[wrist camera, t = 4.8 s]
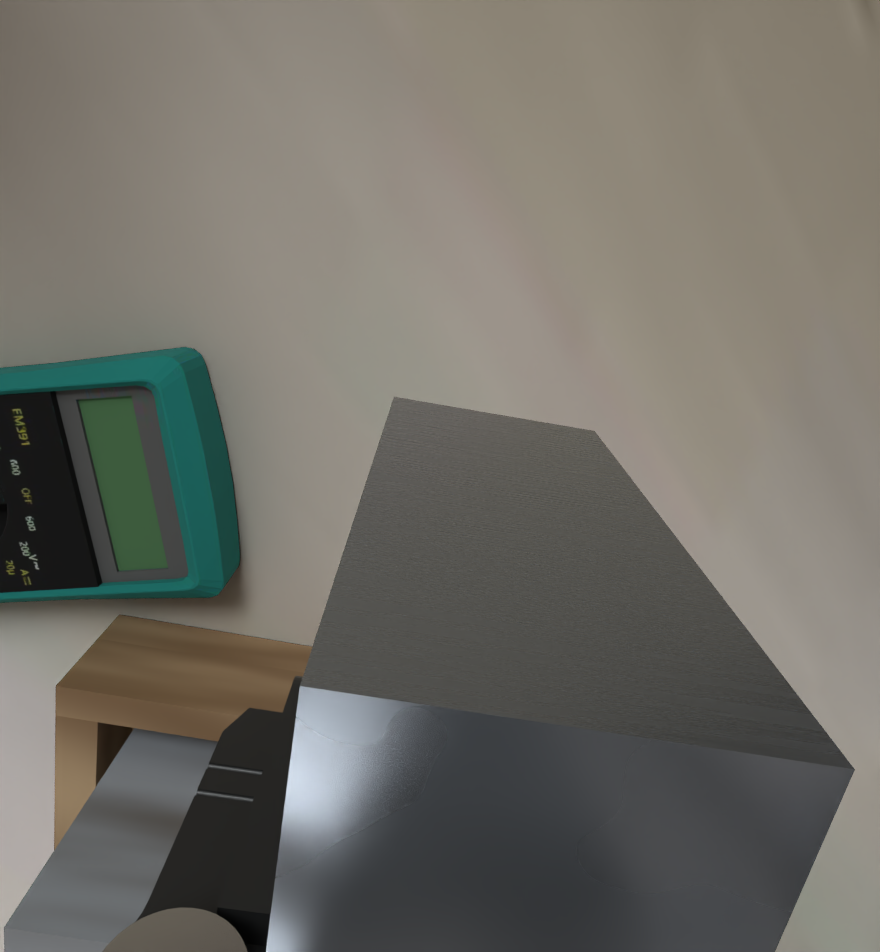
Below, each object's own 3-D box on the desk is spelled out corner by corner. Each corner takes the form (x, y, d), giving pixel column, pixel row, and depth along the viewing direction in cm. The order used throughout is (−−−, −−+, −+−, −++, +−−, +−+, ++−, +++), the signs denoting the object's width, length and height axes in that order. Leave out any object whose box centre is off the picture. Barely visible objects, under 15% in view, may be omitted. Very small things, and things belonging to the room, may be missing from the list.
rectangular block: (394, 396, 12) (300, 685, 4) (594, 431, 12) (855, 769, 4) (323, 859, 15) (195, 1502, 7) (482, 881, 15) (518, 1533, 7)
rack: (119, 614, 24) (-85, 844, 15) (699, 711, 25) (841, 985, 16) (106, 927, 28) (-56, 1250, 19) (596, 1000, 29) (660, 1343, 20)
